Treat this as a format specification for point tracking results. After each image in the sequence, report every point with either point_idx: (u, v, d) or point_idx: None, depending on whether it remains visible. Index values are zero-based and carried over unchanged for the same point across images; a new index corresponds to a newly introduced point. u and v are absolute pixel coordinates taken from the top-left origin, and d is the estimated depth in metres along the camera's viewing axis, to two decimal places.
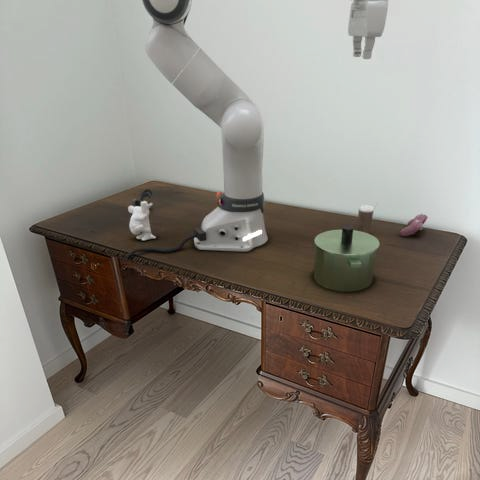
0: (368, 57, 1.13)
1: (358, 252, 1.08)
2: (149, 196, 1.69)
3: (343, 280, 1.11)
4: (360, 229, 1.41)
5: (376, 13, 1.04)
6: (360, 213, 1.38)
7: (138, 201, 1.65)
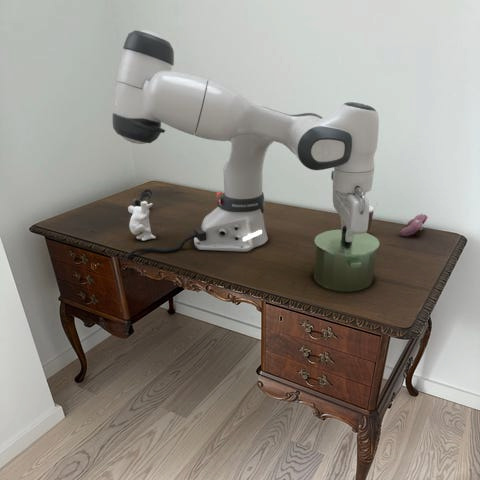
0: None
1: (358, 252, 1.08)
2: (149, 196, 1.69)
3: (343, 280, 1.11)
4: None
5: None
6: None
7: (138, 201, 1.65)
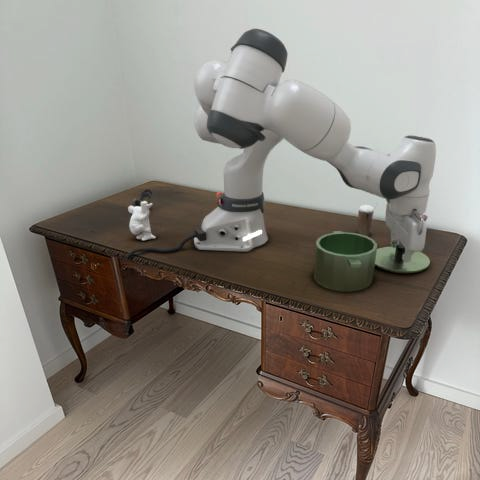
0: None
1: (412, 269, 1.20)
2: (149, 196, 1.69)
3: (343, 280, 1.11)
4: (360, 229, 1.41)
5: None
6: (360, 213, 1.38)
7: (138, 201, 1.65)
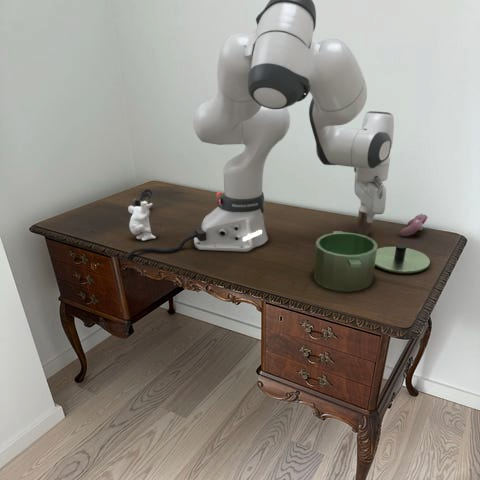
0: None
1: (412, 269, 1.20)
2: (149, 196, 1.69)
3: (343, 280, 1.11)
4: (360, 229, 1.41)
5: None
6: (360, 213, 1.38)
7: (138, 201, 1.65)
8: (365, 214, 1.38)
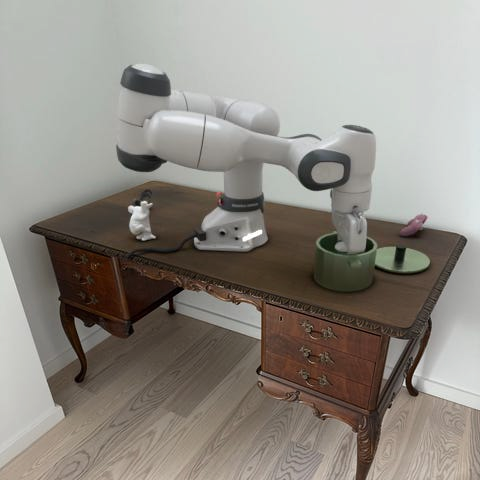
0: None
1: (412, 269, 1.20)
2: (149, 196, 1.69)
3: (343, 280, 1.11)
4: None
5: None
6: (337, 252, 1.14)
7: (138, 201, 1.65)
8: (342, 253, 1.13)
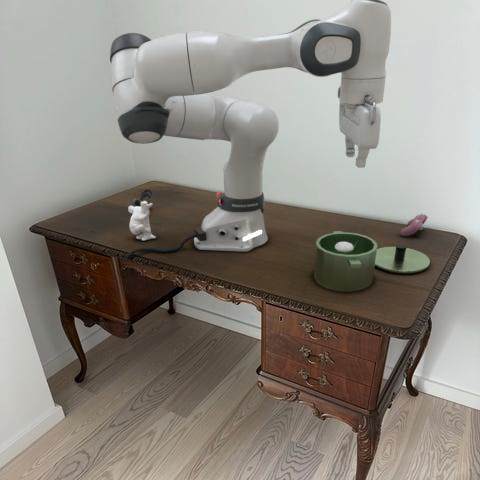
0: None
1: (412, 269, 1.20)
2: (149, 196, 1.69)
3: (343, 280, 1.11)
4: None
5: None
6: (337, 252, 1.14)
7: (138, 201, 1.65)
8: (342, 253, 1.13)
